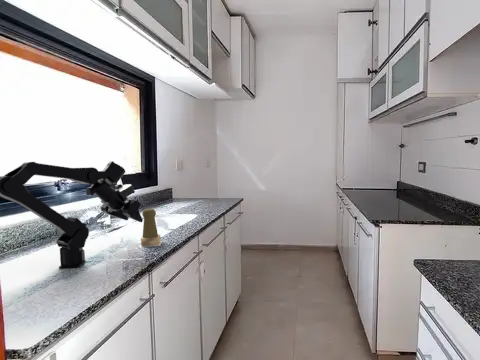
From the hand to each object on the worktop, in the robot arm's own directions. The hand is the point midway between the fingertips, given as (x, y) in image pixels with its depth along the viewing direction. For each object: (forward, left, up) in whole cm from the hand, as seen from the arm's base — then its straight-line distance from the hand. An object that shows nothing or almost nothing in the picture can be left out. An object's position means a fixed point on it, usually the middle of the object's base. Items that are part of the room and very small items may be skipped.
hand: (134, 220), depth 140 cm
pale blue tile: (+2, +5, -11) cm, 12 cm away
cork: (+5, +5, -8) cm, 10 cm away
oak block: (+5, +5, -11) cm, 13 cm away
